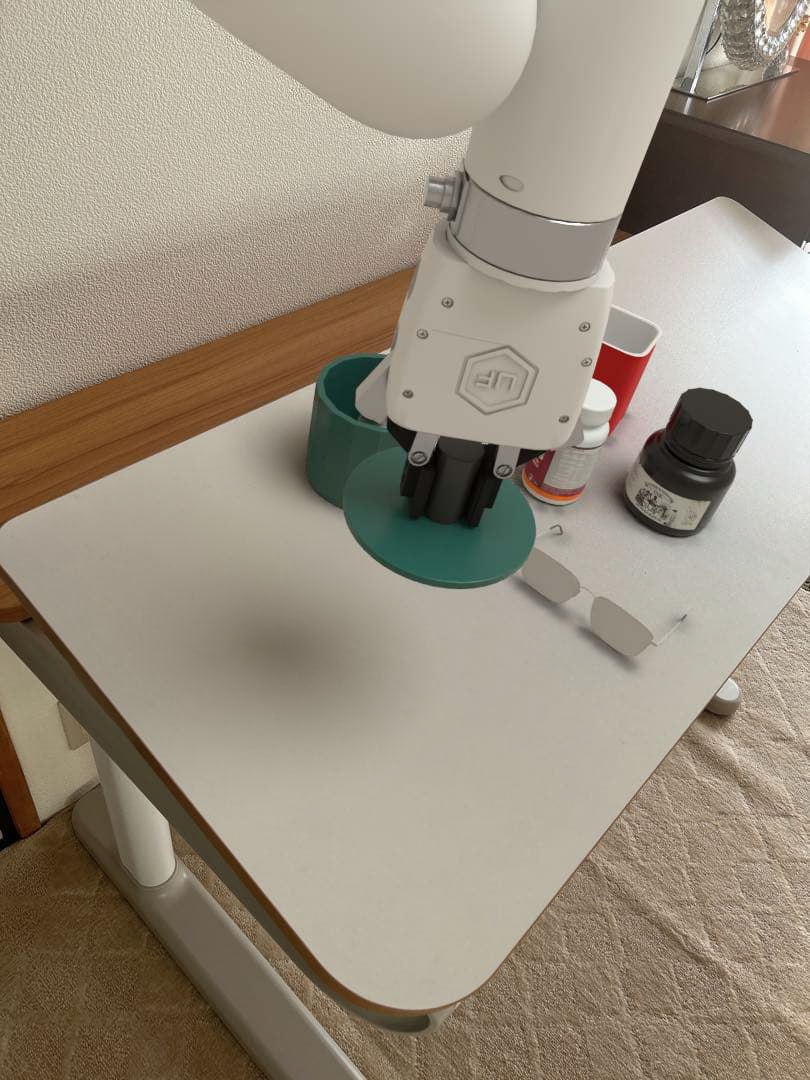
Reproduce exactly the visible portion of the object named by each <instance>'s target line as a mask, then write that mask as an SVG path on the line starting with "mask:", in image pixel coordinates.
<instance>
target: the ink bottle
mask: <svg viewBox="0 0 810 1080" xmlns="http://www.w3.org/2000/svg"><path fill="white" fill-rule="evenodd" d="M753 422H754V419H753V417H752V415H751V413H750V411H749V409H747V408H746V407H745V406H744V405H743V404H742V403H741V402H740V401H739V400H737V399H735V398H734V397H732V396H731V395H729V394H727V393H724V392H722V391H719V390H717V389H716V390H715V389H713V388H705V387H695V388H688V389H687V390H685V391H684V392H682V393H681V394H680V396H679V398H678V400H677V402H676V403H675V406H674V408H673V410H672V412H671V414H670V416H669V418H668V422H667V423H666V425H665V427H662V428H660V429H657V430H655V431H654V432H652V433H651V434H650V435H649V436H648V437H647V439H646V440H645V442H644V443H643V445H642V448H641V449H640V450H639V452H638V454H637V457H636V458H635V460H634V463H633V465H632V467H631V469H630V471H629V473H628V475H627V477H626V480H625V483H624V485H623V490H622V491H623V492H622V496H623V500H624V503H625V504H626V506H627V507H628V509H629V510H630V512H631V513H632V514H633V515H634V516H635V517H636V518H638V519H639V520H640V521H641V522H643V523H644V524H645V525H647V526H649V527H650V528H652V529H655V530H656V531H659V533H660V532H661V533H663V534H667V535H669V536H677V537H685V536H686V537H687V536H691V535H695V534H697V533H700V532H701V531H703V530H705V528H706V527H707V526H708V525H709V523H710V522H711V520H712V519H713V518H714V515H715V513H716V512H717V510H718V509H719V507H720V505H721V503H722V502H723V500H725V499H724V498H725V497H726V495H727V493H728V492H729V490H730V489H731V487H732V485H733V483H734V481H735V479H736V476H737V466H736V462H735V460H734V458H735V457H736V455H737V454H738V453H739V451H740V449H741V448H742V446H743V445H744V442H745V440H747V437H748V435H750V433H751V430H752V428H753Z"/></svg>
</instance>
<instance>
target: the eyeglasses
mask: <svg viewBox="0 0 810 1080" xmlns="http://www.w3.org/2000/svg"><path fill="white" fill-rule="evenodd" d="M557 527H559V531H560V534H561V535H563V534H564V531H563V528H562V526H561V524H555V525H553V526H551V527H549V528H548V529H546V530H545V531H543V532H541V533H539V534H537V535H536V539H538V538H539V537H541V536H543V535H545V533H547V532H549V531H551V530H553V529H555V528H557ZM521 575H522V577H523V579H524V581H525V582H526V583H527V584H528V585H529V587H531V588H533V589H534V590H535V591H536V592H537V593H538V594H540V595H542V596H543V597H545V598H547V599H548V600H550V601H552V602H554V603H557V604H563V603H566V602H568V601H570V600H571V599H573V598H575V597H577V596H578V595H580V593H581V592H582V589H584V590H586V591H588V592H589V593H590V594H591V595H592V596H593V598H594V599H593V601H592V605H591V608H590V618H589V620H590V626H591V628H592V630H593V632H594V633H595V634H596V635H597V636H598V637H599V638H600V639H601V640H602V641H604V643H606V644H607V645H608V646H609V647H611V648H613V649H614V650H615V651H617V652H618V653H620V654H622V655H623V656H626V657H629V658H630V657H631V658H632V657H633V658H634V657H637V656H638V655H640V654H641V653H643V652H644V651H645V650H646V649H647V648H648V647H649V646H650V645H652V646H654V647H658V646H660V645H661V644H662V642H664V641H665V640H666V639H667V638H668V637H669V635H670V634H671V633H672V632H674V630H675V629H676V628H677V627H678V626H679V625H680V624H681V623H682V622H683V621H684V620H685V619H686V618H687V616H688V614H687V613H685V614H684V615H683V617H681V619H680V620H679V622H678V623H677V624H676V625H675V626H674V627H672V628H671V630H670V631H668V632H667V633H666V634H665V635H664V636H663V637H662V638H661V639H660V640H659V641H658V642H656V641H654V636H655V635H654V633H653V632H652V630H651V629H650V628H649V627H648V626H647V625H645V624H644V623H643V622H642V621H640V619H638V618H637V617H636V616H634V615H633V614H632V613H631V612H629V611H628V610H627V609H625V608H624V607H623V606H621V605H620V604H618V603H617V602H615V601H613V600H612V599H610V598H608V597H606V596H603V595H598V596H597V595H595V592H593V591H592V590H591V589H589V587H586V586H583V585H582V583H581V581H580V579H579V577H578V576H577V575H576V574H575V573H574V571H572V570H571V569H570V568H568V567H567V566H566V565H565V564H562V562H560V561H559V560H557V559H556V558H555V557H553V556H551V555H550V554H548V553H546V552H545V551H543V550H542V549H540V548H539V547H537V546H535V545H534V546H533V549H532V551H531V553H530V555H529V557H528V559H527V561H526V562H525V563H524V565H523V566H522V567H521Z"/></svg>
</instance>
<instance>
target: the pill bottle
mask: <svg viewBox="0 0 810 1080" xmlns="http://www.w3.org/2000/svg"><path fill="white" fill-rule="evenodd" d="M616 401H617V400H616V396H615V394H614V392H613V391H612V390H611V389H610V388H609V387H608V386H606V385H605V384H603V383H602V382H600V381H597V380H595V379H591V382H590V386H589V389H588V392H587V395H586V398H585V401H584V404H583V407H582V410H581V412H580V416H581V422H582V427H583V433H584V440H583V442H582V443H581V444H579V445H577V446H572V447H568V448H563V449H558V450H554V451H551V450H546V452H545V453H544V454H543V455H541V456H539V457H537V458H535V459H533V460H531V461H529V462H526V463H524V466H523V470H522V472H521V480H522V484H523V486H524V488H525V489H526V491H528V492H529V493H530V494H531V495H532V496H533V497H534V498H536V499H537V500H540V501H542V502H544V503H547V504H552V505H558V506H561V505H562V506H564V505H565V506H566V505H570V504H572V503H575V501H577V500H578V499H579V498H581V495H582V494H583V492H584V490H585V488H586V486H587V484H588V481H589V479H590V476H591V474H592V472H593V470H594V468H595V465H596V463H597V461H598V458H599V457H600V454H601V452H602V450H603V448H604V445H605V443H606V441H607V439H608V437H609V436H608V434H609V422H608V421H609V420H610V418H611V415H612V412H613V410H614V408H615V405H616ZM607 436H608V437H607Z"/></svg>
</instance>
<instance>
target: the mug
mask: <svg viewBox="0 0 810 1080" xmlns="http://www.w3.org/2000/svg"><path fill="white" fill-rule="evenodd" d="M663 336H664V329H663V328H662V327H661V326H660V325H659V324H658V323H657V322H654V321H653V320H650V319H648V318H645V317H643V316H641V315H639V314H637V313H635V312H632V311H630V310H627V309H625V308H623V307H621V306H618V305H616V304H614V303H613V302H612V303H611V308H610V313H609V317H608V322H607V326H606V330H605V333H604V337H603V341H602V345H601V349H600V352H599V356H598V359H597V362H596V366H595V369H594V373H593V376H592V379H595V380H597V381H600V382H602V383H603V384H605V385H606V386H608V387H609V388H610V389H611V390H612V391H613V392H614V394H615V396H616V400H617V401H616V405H615V408H614V410H613V412H612V415H611V418H610V420H609V421H608V422H609V434H608V436H607V438H609V437H610V436H611V434H612V433H613V432H614V430H615V429H616V428H617V426H618V425H619V424H620V422H621V421H622V419H623V418H624V416H625V415H626V412H627V411H628V408H629V405H630V404H631V401H632V400H633V397H634V395H635V392H636V390H637V388H638V386H639V383H640V381H641V379H642V377H643V375H644V373H645V370H646V368H647V365H648V364H649V361H650V359H651V357H652V355H653V352H654V350H655V348H656V346H657V343H658V342H659V340H660V339H662V337H663Z"/></svg>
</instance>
